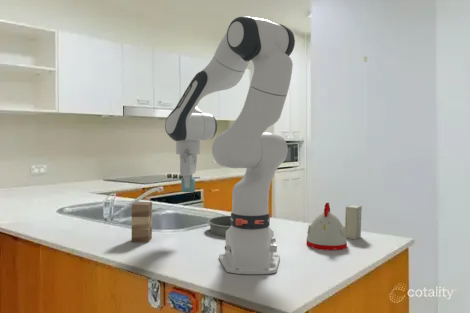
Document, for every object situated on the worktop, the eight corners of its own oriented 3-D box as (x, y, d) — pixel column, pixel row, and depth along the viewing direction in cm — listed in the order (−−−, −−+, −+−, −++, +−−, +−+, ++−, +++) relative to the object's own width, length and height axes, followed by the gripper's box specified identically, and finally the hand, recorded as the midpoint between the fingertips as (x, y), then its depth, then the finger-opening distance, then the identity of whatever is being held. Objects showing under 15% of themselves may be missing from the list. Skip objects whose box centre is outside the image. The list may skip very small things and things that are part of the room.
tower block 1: (148, 217, 143) (148, 204, 143) (131, 216, 143) (131, 204, 143) (151, 214, 149) (152, 202, 149) (135, 213, 149) (135, 201, 149)
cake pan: (268, 226, 175) (268, 215, 175) (267, 239, 151) (267, 227, 151) (212, 224, 178) (212, 214, 178) (202, 237, 153) (202, 225, 153)
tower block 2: (148, 229, 144) (148, 217, 143) (131, 229, 144) (131, 216, 143) (151, 226, 150) (152, 214, 149) (135, 226, 150) (135, 213, 149)
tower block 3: (148, 242, 144) (148, 229, 144) (131, 242, 144) (131, 229, 144) (151, 238, 150) (151, 226, 150) (135, 238, 150) (135, 226, 150)
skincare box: (350, 235, 159) (350, 204, 159) (361, 236, 157) (362, 205, 156) (344, 238, 154) (345, 206, 154) (355, 239, 152) (356, 207, 151)
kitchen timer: (302, 247, 140) (303, 204, 139) (310, 239, 152) (311, 199, 152) (344, 252, 134) (345, 207, 134) (348, 242, 147) (349, 201, 147)
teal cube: (194, 192, 148) (194, 178, 147) (180, 192, 148) (180, 178, 147) (195, 190, 153) (195, 177, 152) (182, 190, 153) (182, 177, 152)
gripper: (194, 149, 139) (194, 189, 140) (198, 149, 160) (198, 184, 160) (175, 149, 139) (175, 189, 140) (182, 149, 160) (182, 184, 160)
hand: (188, 186), depth 150 cm, fingers closed on teal cube, 5 cm apart
